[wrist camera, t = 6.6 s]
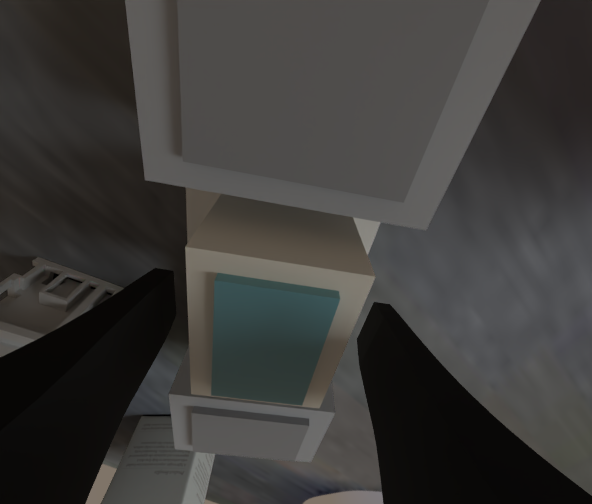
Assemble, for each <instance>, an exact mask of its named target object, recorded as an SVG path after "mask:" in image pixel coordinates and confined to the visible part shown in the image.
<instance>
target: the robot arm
mask: <svg viewBox="0 0 592 504" xmlns="http://www.w3.org/2000/svg"><path fill="white" fill-rule="evenodd" d="M175 315H176V302H175V287H174V272H173V271H171V270H164V269H158V268H155V269H153V270H152V271H150V272H148V273H147V274H145V275H144V276H142V277H141V278H139V279H138V280H136V281H135V282H133V283H132V284H130V285H128V286H127V287H125V288H124V289H122V290H121V291H119V292H118V293H116V294H115V295H113V296H111V297H110V298H108V299H107V300H105V301H103V302H102V303H100V304H99V305H97V306H95V307H94V308H92V309H90V310H89V311H87V312H85V313H83V314H82V315H80V316H78V317H77V318H75V319H73V320H71V321H70V322H68V323H66V324H64V325H63V326H61V327H59V328H57V329H56V330H54V331H52V332H50V333H48V334H46V335H44V336H42V337H41V338H39V339H37V340H35V341H33V342H31V343H29V344H27V345H25V346H23V347H21V348H19V349H17V350H15V351H13V352H10V353H8V354H6V355H4V356H2V357H0V504H85V503H86V500H87V498H88V495H89V493H90V490H91V488H92V486H93V484H94V481H95V479H96V477H97V474H98V472H99V470H100V467H101V465H102V463H103V460H104V458H105V456H106V453H107V451H108V449H109V447H110V444H111V442H112V440H113V438H114V436H115V433H116V431H117V429H118V427H119V424H120V422H121V420H122V418H123V416H124V414H125V412H126V410H127V408H128V406H129V404H130V402H131V401H132V399H133V397H134V395H135V393H136V392H137V390H138V388H139V386H140V385H141V383H142V381H143V379H144V378H145V376H146V374H147V372H148V370H149V369H150V367H151V365H152V363H153V362H154V360H155V358H156V356H157V354H158V353H159V351H160V349H161V347H162V345H163V343H164V342H165V340H166V337H167V335H168V333H169V330H170V328H171V325H172V323H173V320H174V318H175ZM357 344H358V356H359V366H360V371H361V375H362V380H363V385H364V389H365V394H366V398H367V403H368V407H369V412H370V416H371V420H372V425H373V429H374V435H375V440H376V446H377V453H378V461H379V468H380V476H381V485H382V494H383V503H384V504H592V496H591V495H590V494H588V493H587V492H586V491H584V490H583V489H582V488H581V487H579V486H578V485H577V484H575V483H574V482H573V481H571V480H570V479H569V478H568V477H566V476H565V475H564V474H562V473H561V472H560V471H558V470H557V469H556V468H555V467H553V466H552V465H551V464H550V463H548V462H547V461H546V460H545V459H543V458H542V457H541V456H540V455H538V454H537V453H536V452H535V451H534V450H532V449H531V448H530V447H529V446H528V445H526V444H525V443H524V442H523V441H522V440H521V439H519V438H518V437H517V436H516V435H515V434H513V433H512V432H511V431H510V430H509V429H508V428H506V427H505V426H504V425H503V424H502V423H501V422H500V421H499V420H497V419H496V418H495V417H494V416H493V415H492V414H491V413H490V412H489V411H488V410H487V409H486V408H485V407H483V406H482V405H481V404H480V403H479V402H478V401H477V400H476V399H475V398H474V397H473V396H472V395H471V394H470V393H469V392H468V391H467V390H466V389H465V388H464V387H463V386H462V385H461V384H460V383H459V382H458V381H457V380H456V379H455V378H454V377H453V376H452V375H451V374H450V373H449V372H448V371H447V370H446V368H445V367H444V366H443V365H442V364H441V363H440V362H439V361H438V360H437V359H436V358H435V356H434V355H433V354H432V353H431V352H430V351H429V350H428V348H427V347H426V346H425V345H424V344H423V343H422V341H421V340H420V339H419V338H418V337H417V336H416V334H415V333H414V332H413V331H412V330H411V328H410V327H409V326H408V325H407V324H406V322H405V321H404V320H403V319H402V318H401V317H400V315H399V314H398V313H397V312H396V311H395V310H394V308H393V307H392V306H391V305H390V304H384V303H377V302H374V303H373V305H372V308H371V310H370V312H369V314H368V316H367V318H366V321H365V323H364V325H363V327H362V329H361V332H360V334H359V336H358V338H357Z"/></svg>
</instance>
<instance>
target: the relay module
mask: <svg viewBox="0 0 592 504" xmlns="http://www.w3.org/2000/svg"><path fill="white" fill-rule="evenodd" d="M185 254H186V279H187V304H188V329H189V355H190V380H191V394H195V395H203V396H212V397H221V398H230V399H239V400H248V401H257V402H266V403H275V404H283V405H292V406H301V407H310V408H320V406H321V404H322V401H323V399H324V397H325V394H326V392H327V390H328V387H329V385H330V383H331V380H332V378H333V376H334V373H335V371H336V369H337V366H338V364H339V362H340V359H341V357H342V354H343V352H344V350H345V347H346V345H347V343H348V340H349V338H350V336H351V333H352V331H353V329H354V326H355V324H356V322H357V319H358V317H359V315H360V312H361V310H362V308H363V305H364V303H365V301H366V298H367V296H368V293H369V291H370V289H371V286H372V284H373V282H374V279H375V277H376V276H375V274H374V271H373V269H372V266H371V263H370V261H369V258H368V255H367V253H366V250H365V248H364V245H363V242H362V240H361V237H360V235H359V232H358V229H357V227H356V224H355V222H354V219H353V217H348V216H343V215H337V214H331V213H326V212H320V211H315V210H309V209H304V208H298V207H292V206H287V205H281V204H276V203H270V202H264V201H259V200H253V199H248V198H242V197H237V196H231V195H225V194H221V195H220V197H219V198H218V200H217V201H216V203H215V204H214V205H213V207H212V208H211V210H210V211H209V213H208V214H207V216H206V217H205V219H204V220H203V221H202V223H201V224H200V226H199V227H198V229H197V230H196V232H195V233H194V235H193V236H192V238H191V239H190V240H189V242H188V243H187V245H186V246H185Z"/></svg>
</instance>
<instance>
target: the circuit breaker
mask: <svg viewBox="0 0 592 504" xmlns="http://www.w3.org/2000/svg"><path fill="white" fill-rule="evenodd" d="M33 266H35V267H34V268H33V269H31V270H30V271H29V272H27V273H26V274H24V275H23V276H21V275H18V274H16V273H13V274H12V275H11V276H9V277H8V278H6V279H5V280H3V281H2V282H0V294H2V293H3V292H4V291H6V290H8V296H7V297H5V298H4V299H3V300H1V301H0V357H2V356H4V355H6V354H8V353H10V352H13V351H15V350H17V349H19V348H21V347H23V346H25V345H27V344H29V343H31V342H33V341H35V340H37V339H39V338H41V337H42V336H44V335H46V334H48V333H50V332H52V331H54V330H56V329H57V328H59V327H61V326H63V325H64V324H66V323H68V322H70V321H71V320H73V319H75V318H77V317H78V316H80V315H82V314H83V313H85V312H87V311H89V310H90V309H92V308H94V307H95V306H97V305H99V304H100V303H102V302H103V301H105V300H107V299H108V298H110V297H111V295H108V294H107V292H109V293H112V294H113V295H115V294H116V293H118V292H119V291H121V290H122V289H124V288H123V287H120V286H117V285H115V284H112V283H109V282H106V281H104V280H101V279H98V278H95V277H92V276H90V275H87V274H84V273H81V272H79V271H76V270H73V269H70V268H68V267H65V266H62V265H59V264H57V263H54V262H51V261H48V260H45V259H43V258H40V257H37V258H36V259H34V260H33ZM54 273H56V274H59V276H57V277H56V278H55V279H54V280H53V276H54ZM69 277H70V278H72V279H75V280H78V281H81V282H83V283H79V282H76V281H73V280H71V279H69ZM91 286H92V287H95V288H96V289H95V290H94V289H91ZM113 295H112V296H113Z"/></svg>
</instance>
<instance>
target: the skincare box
mask: <svg viewBox="0 0 592 504" xmlns="http://www.w3.org/2000/svg"><path fill="white" fill-rule="evenodd" d="M214 456H215V454H211V453H200V452H193V451H189V450H178V449H175V446H174V437H173V428H172V419H171V416H141V418H140V420H139V422H138V424H137V427H136V429H135V431H134V433H133V435H132V438H131V440H130V442H129V444H128V446H127V448H126V451H125V453H124V455H123V457H122V459H121V462H120V464H119V466H118V468H117V470H116V473H115V475H114V477H113V479H112V481H111V483H110V485H109V488H108V490H107V492H106V494H105V496H104V498H103V500H102V502H101V504H204V501H205V497H206V493H207V488H208V483H209V479H210V474H211V470H212V465H213V461H214Z"/></svg>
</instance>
